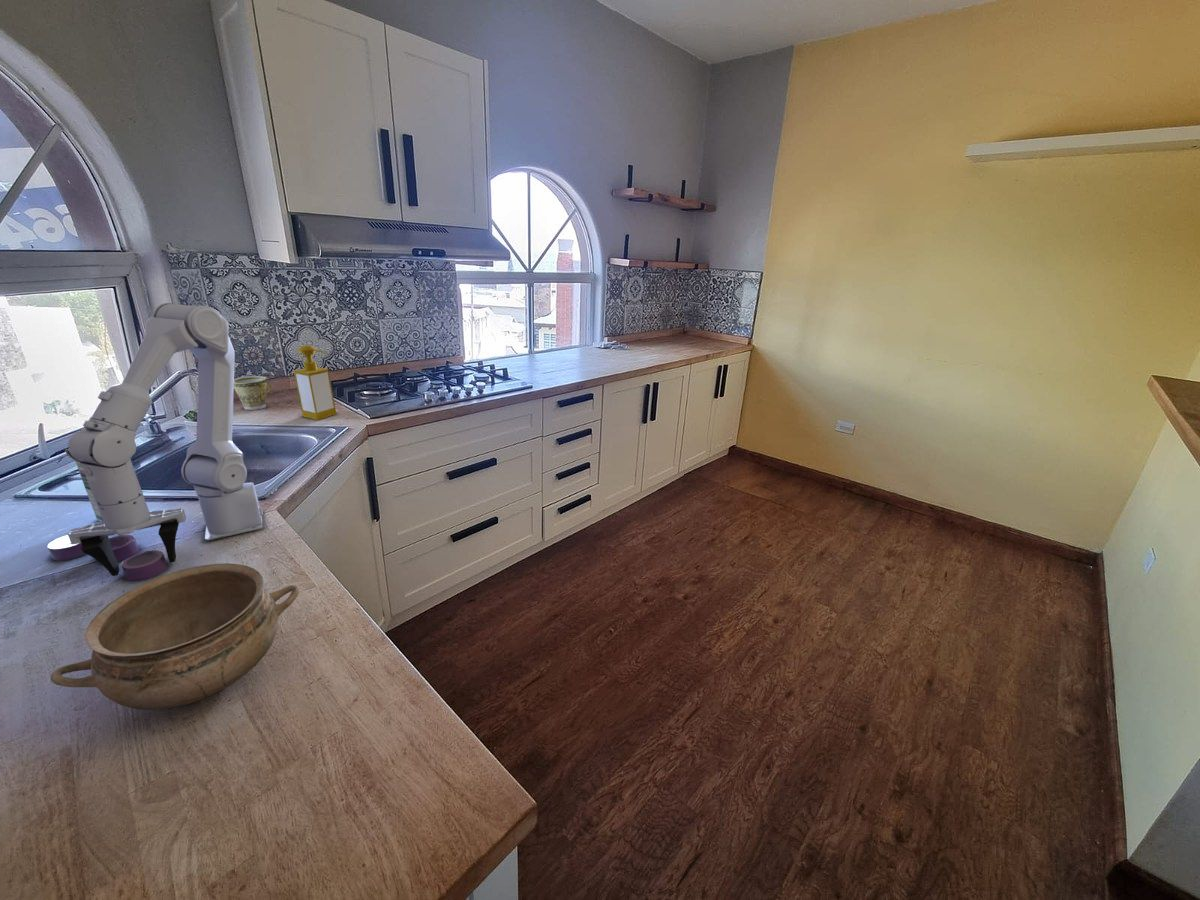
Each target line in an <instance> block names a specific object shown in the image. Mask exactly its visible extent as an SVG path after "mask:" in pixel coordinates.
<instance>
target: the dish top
mask: <svg viewBox="0 0 1200 900" xmlns="http://www.w3.org/2000/svg"><path fill="white" fill-rule="evenodd" d="M81 547H82V543H79V544H74V545H72V544H71V541H70V539H69V537H68V534H67V535H63V536H60V537H57V538H55V539H53V540H52V541H50V542H49V543H48V544H47V545H46V548H47V549H48V552H49V554H50V556H51V559H52V560H54V561H56V562H58V561H59V562H63V561H69V560H73V559H78V558H80V557H82V556H85V555H86V554H85V553H84V552H83V551H82V550H81Z"/></svg>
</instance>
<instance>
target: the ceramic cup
mask: <svg viewBox="0 0 1200 900" xmlns="http://www.w3.org/2000/svg"><path fill="white" fill-rule="evenodd" d="M267 386H268V390H267ZM271 390H272V385H271V383H270V382H267V377H265V376H261V375H250V376H249V375H247V376H242V377H236V378H234V392H235V393H236V394H237V396H238V399H239V401H240V402H241V404H242V407H243V408H244V410H246V411H256V410H262V409H265V408H266V407H267V394H268V393H269V392H271Z"/></svg>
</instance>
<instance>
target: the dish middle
mask: <svg viewBox="0 0 1200 900" xmlns="http://www.w3.org/2000/svg"><path fill="white" fill-rule="evenodd" d="M167 568H168V562H167V559H166V557H165V554H164V552H163V551H161V550H159V549H158V550H157V549H152V550H146V551H142V552H139V553H138V552H137V553H136V554H134V555H133V556H131V557H129V558H126V559H124V560H122V562H121V569H122V571H123V573H124V576H125V579H126V580H128V581H133V582H134V581H136V582H137V581H143V580H148V579H151V578H153V577H156V576H157V575H160V574H161V573H163V572H164V571H165V570H167Z"/></svg>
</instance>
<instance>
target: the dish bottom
mask: <svg viewBox="0 0 1200 900" xmlns="http://www.w3.org/2000/svg"><path fill="white" fill-rule="evenodd" d="M109 541H110V544H111V548H112V551H113V553H114V555H115V557H116V560H117V562H121V561H124V560H126V559H127V558H129V557H131V556H133V555H135V554H138V552H139V549H140V547H139V545H138V542H137V540H136V537H135V536H134V535H131V534H126V535H121V536H118V535H116V536H112V537H109Z"/></svg>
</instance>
